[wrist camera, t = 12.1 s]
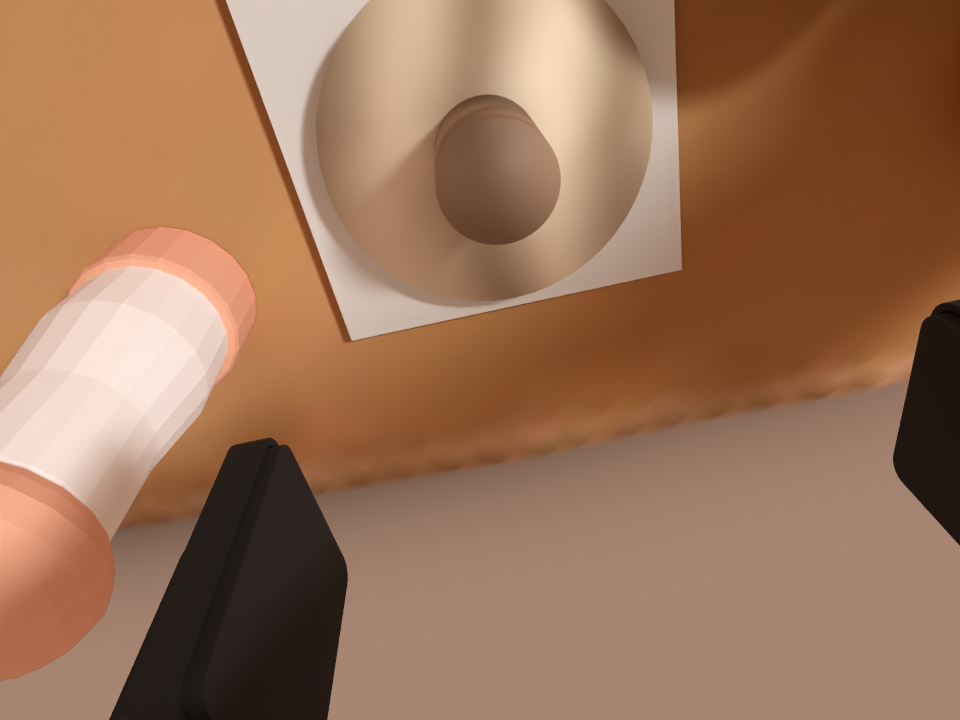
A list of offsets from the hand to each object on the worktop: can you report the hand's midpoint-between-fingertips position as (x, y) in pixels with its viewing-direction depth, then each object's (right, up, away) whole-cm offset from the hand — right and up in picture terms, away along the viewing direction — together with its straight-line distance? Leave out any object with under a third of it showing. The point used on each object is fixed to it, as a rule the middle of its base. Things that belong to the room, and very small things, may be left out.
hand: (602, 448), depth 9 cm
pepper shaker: (-17, +4, +21) cm, 27 cm away
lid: (-2, +11, +17) cm, 21 cm away
